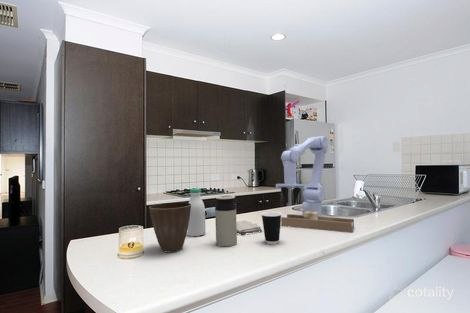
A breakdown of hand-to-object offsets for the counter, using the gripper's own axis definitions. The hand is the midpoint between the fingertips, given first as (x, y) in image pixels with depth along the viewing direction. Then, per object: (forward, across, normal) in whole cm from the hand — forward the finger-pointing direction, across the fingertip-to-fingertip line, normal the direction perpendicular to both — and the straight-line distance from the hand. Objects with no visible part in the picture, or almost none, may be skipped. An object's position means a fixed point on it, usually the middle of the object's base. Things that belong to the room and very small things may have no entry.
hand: (291, 203), depth 134 cm
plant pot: (+11, -28, -54) cm, 62 cm away
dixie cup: (+11, +2, -31) cm, 33 cm away
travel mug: (+11, -12, -40) cm, 43 cm away
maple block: (+8, +10, 0) cm, 12 cm away
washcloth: (+11, -18, -18) cm, 27 cm away
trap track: (+10, +12, 0) cm, 16 cm away
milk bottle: (+11, -32, -34) cm, 48 cm away
